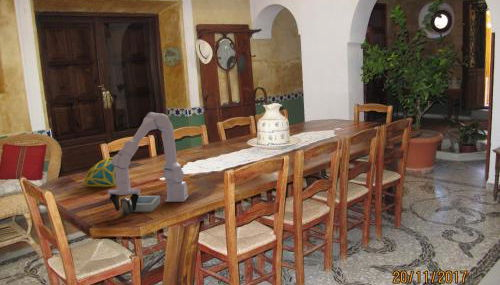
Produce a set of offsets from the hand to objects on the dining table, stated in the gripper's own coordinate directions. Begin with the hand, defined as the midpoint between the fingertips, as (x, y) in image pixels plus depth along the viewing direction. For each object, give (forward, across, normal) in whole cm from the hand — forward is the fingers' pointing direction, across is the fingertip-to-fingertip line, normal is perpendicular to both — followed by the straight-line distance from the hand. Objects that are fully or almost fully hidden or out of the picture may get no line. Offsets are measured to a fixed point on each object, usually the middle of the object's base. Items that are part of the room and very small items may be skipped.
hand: (126, 210), depth 209 cm
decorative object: (+2, -29, +43) cm, 52 cm away
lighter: (+2, -13, +28) cm, 31 cm away
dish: (+2, +5, +9) cm, 10 cm away
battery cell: (+2, 0, 0) cm, 2 cm away
